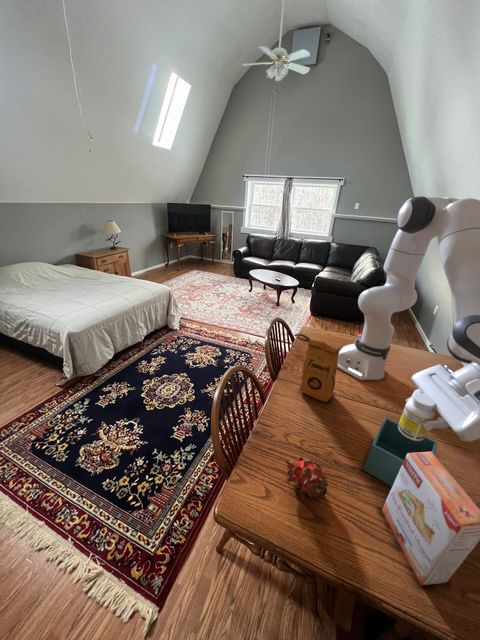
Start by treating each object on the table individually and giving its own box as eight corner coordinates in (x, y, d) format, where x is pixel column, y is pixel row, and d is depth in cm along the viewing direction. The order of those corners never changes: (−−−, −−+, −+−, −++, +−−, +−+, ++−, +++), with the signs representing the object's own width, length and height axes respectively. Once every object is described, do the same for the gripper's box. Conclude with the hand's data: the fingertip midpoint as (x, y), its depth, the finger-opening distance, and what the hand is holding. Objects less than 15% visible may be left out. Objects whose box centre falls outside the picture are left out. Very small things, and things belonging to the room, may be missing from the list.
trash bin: (363, 469, 75) (372, 444, 70) (376, 440, 84) (385, 417, 80) (417, 502, 67) (430, 476, 63) (425, 466, 76) (437, 442, 72)
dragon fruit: (323, 512, 65) (285, 481, 74) (339, 479, 68) (301, 453, 77) (312, 506, 60) (273, 473, 69) (330, 471, 63) (290, 443, 71)
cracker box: (379, 510, 65) (405, 451, 56) (402, 509, 65) (432, 449, 57) (419, 587, 52) (461, 525, 43) (447, 584, 53) (495, 523, 44)
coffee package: (326, 407, 96) (338, 355, 87) (295, 392, 103) (303, 343, 93) (335, 393, 103) (348, 344, 94) (306, 380, 110) (314, 333, 101)
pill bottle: (420, 426, 71) (435, 394, 67) (427, 445, 66) (443, 411, 61) (395, 420, 73) (407, 388, 68) (399, 437, 68) (413, 404, 63)
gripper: (438, 354, 71) (390, 381, 76) (501, 410, 53) (432, 441, 57) (449, 369, 73) (402, 394, 77) (513, 428, 54) (446, 457, 59)
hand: (415, 414), depth 67 cm, fingers closed on pill bottle, 6 cm apart
